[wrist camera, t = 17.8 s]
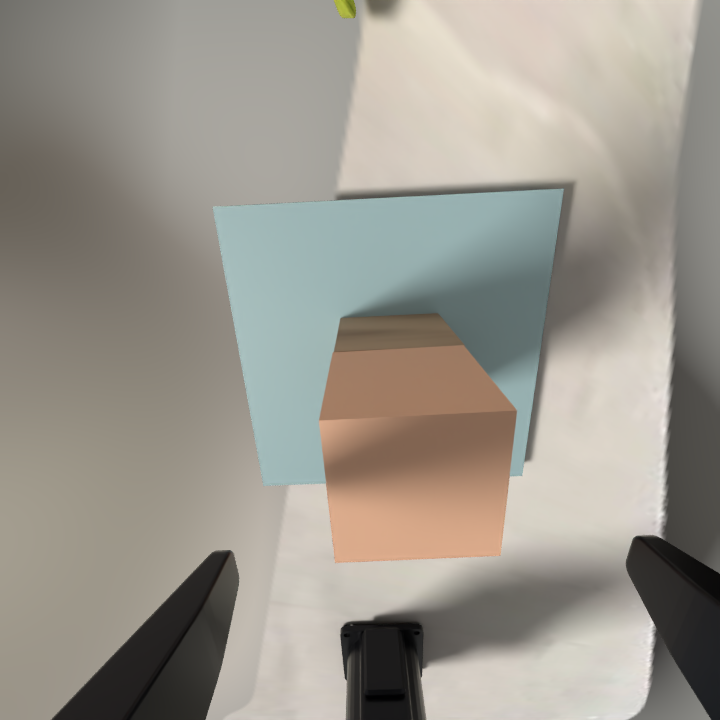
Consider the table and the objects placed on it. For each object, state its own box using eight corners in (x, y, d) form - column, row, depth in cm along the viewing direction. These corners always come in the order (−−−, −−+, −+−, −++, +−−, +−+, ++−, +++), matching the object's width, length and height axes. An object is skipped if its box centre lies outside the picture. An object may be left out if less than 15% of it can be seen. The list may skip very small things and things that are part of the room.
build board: (515, 465, 23) (522, 475, 22) (267, 475, 23) (263, 485, 22) (552, 190, 17) (563, 188, 16) (220, 207, 17) (212, 206, 16)
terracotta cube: (458, 454, 15) (500, 555, 11) (342, 460, 16) (335, 562, 11) (463, 345, 14) (516, 410, 9) (332, 352, 14) (319, 420, 9)
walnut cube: (435, 400, 20) (458, 454, 15) (346, 404, 20) (342, 459, 16) (438, 313, 18) (464, 345, 14) (340, 317, 18) (333, 351, 14)
